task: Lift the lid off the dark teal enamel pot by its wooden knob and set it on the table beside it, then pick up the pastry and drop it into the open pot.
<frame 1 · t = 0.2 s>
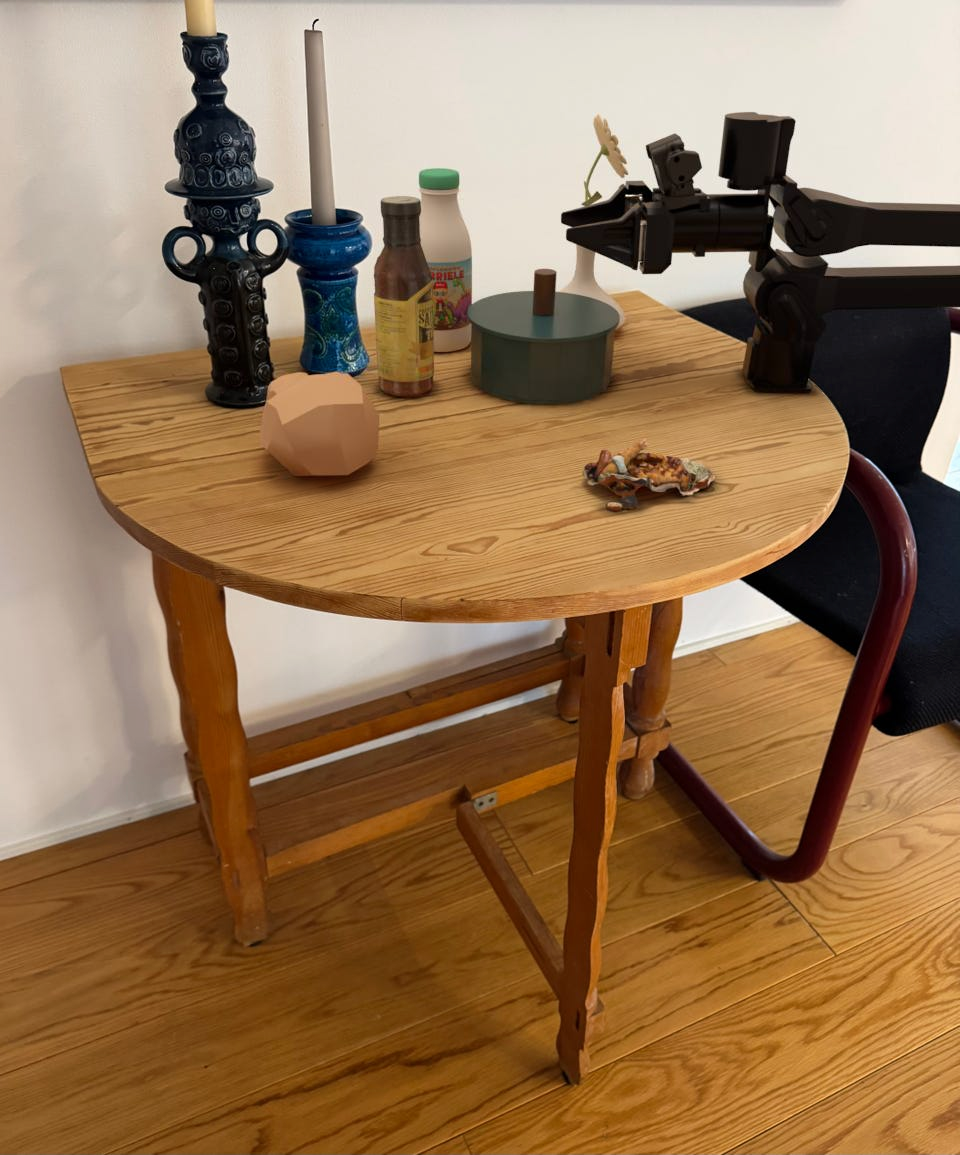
hand: (563, 225, 100), 17 cm above the table, tool horizontal, fingers open, 9 cm apart
pastry: (648, 486, 87), on the table
sauce bottle: (406, 389, 106), on the table
lid: (543, 317, 105), point 7 cm above the table, touching pot
pot: (540, 377, 109), on the table
flower in vase: (580, 329, 124), on the table
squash: (310, 450, 92), on the table
milk bottle: (440, 344, 118), on the table
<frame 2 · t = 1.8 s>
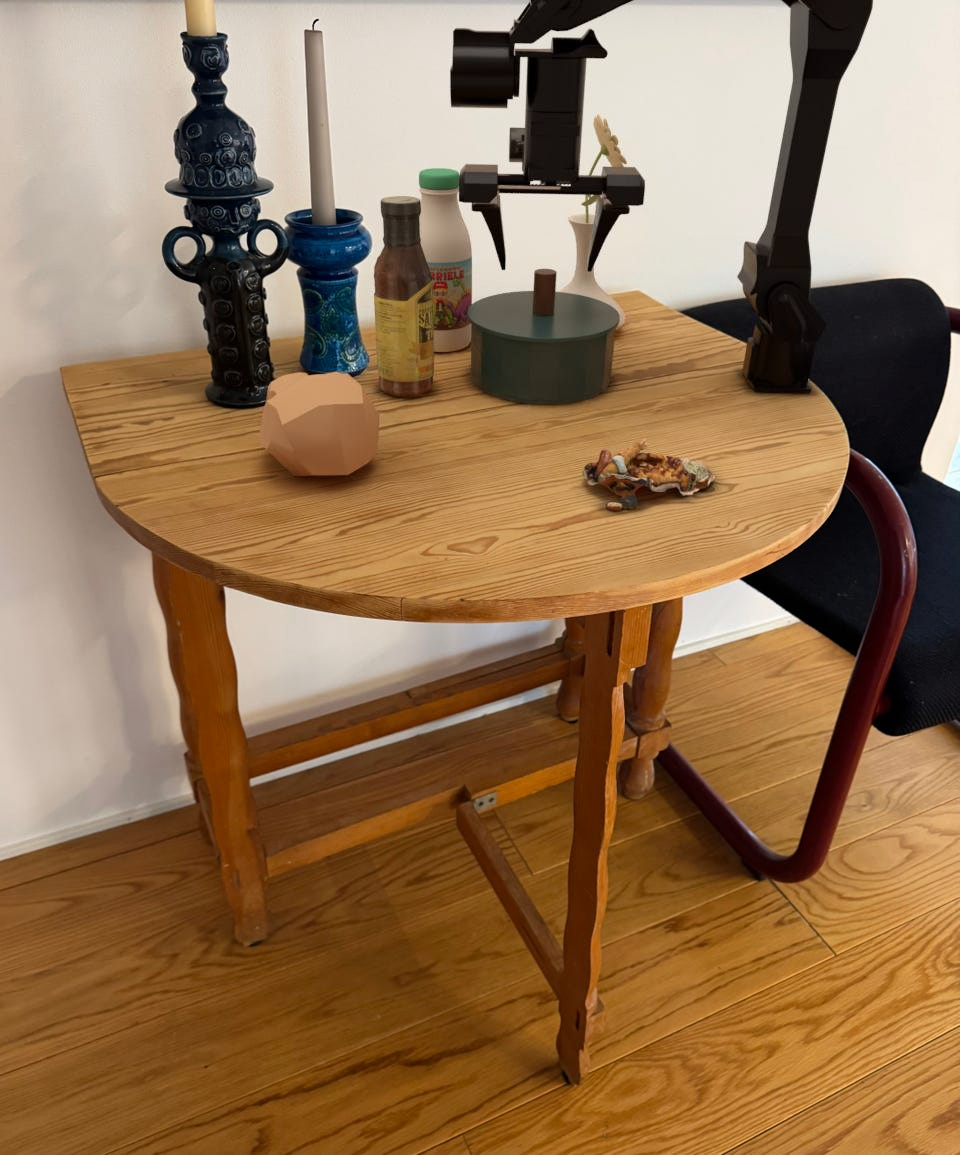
hand: (546, 269, 102), 12 cm above the table, tool pointing down, fingers open, 9 cm apart
nothing on the table moved.
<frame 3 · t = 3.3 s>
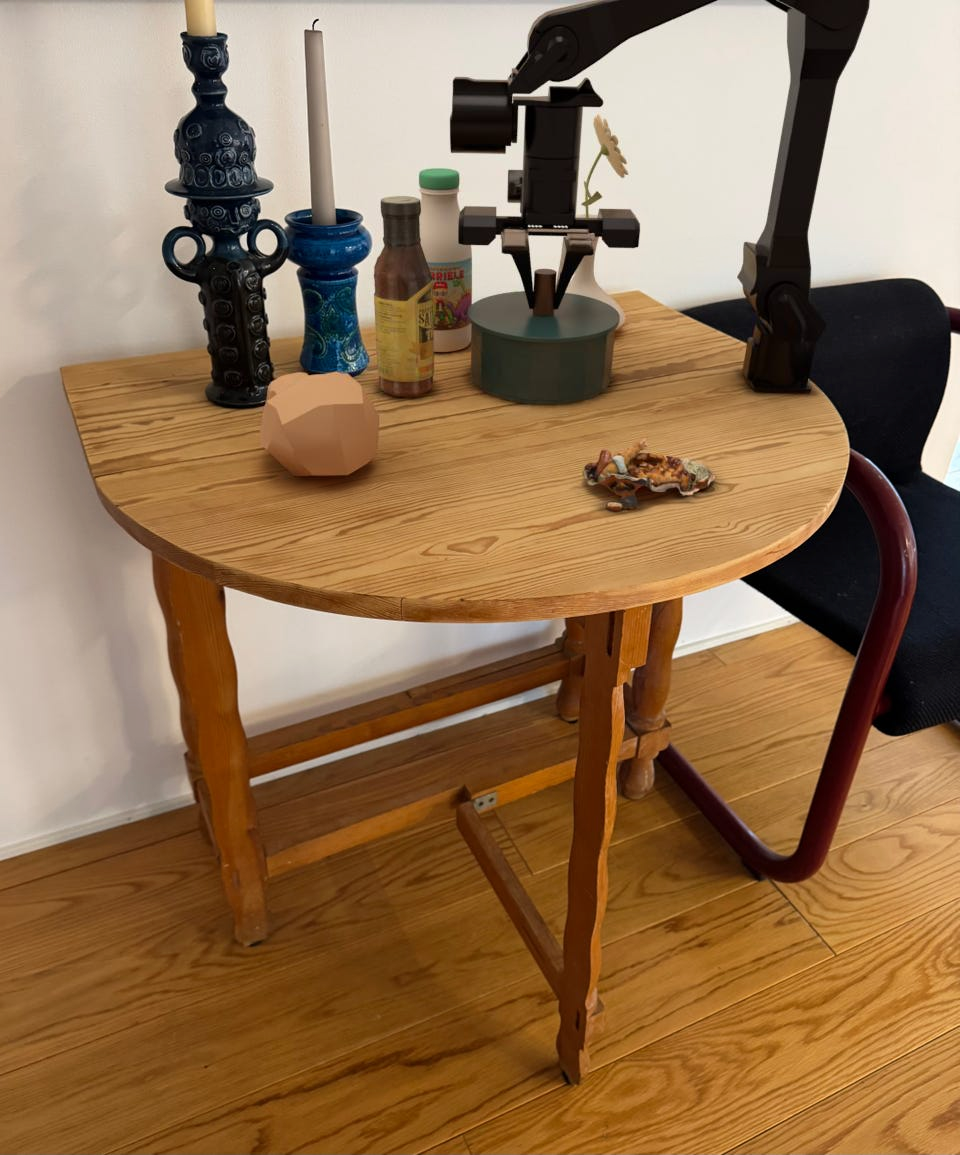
hand: (543, 308, 104), 8 cm above the table, tool pointing down, fingers closed on lid, 2 cm apart
lid: (543, 317, 105), point 7 cm above the table, touching gripper, pot
everything else where it was.
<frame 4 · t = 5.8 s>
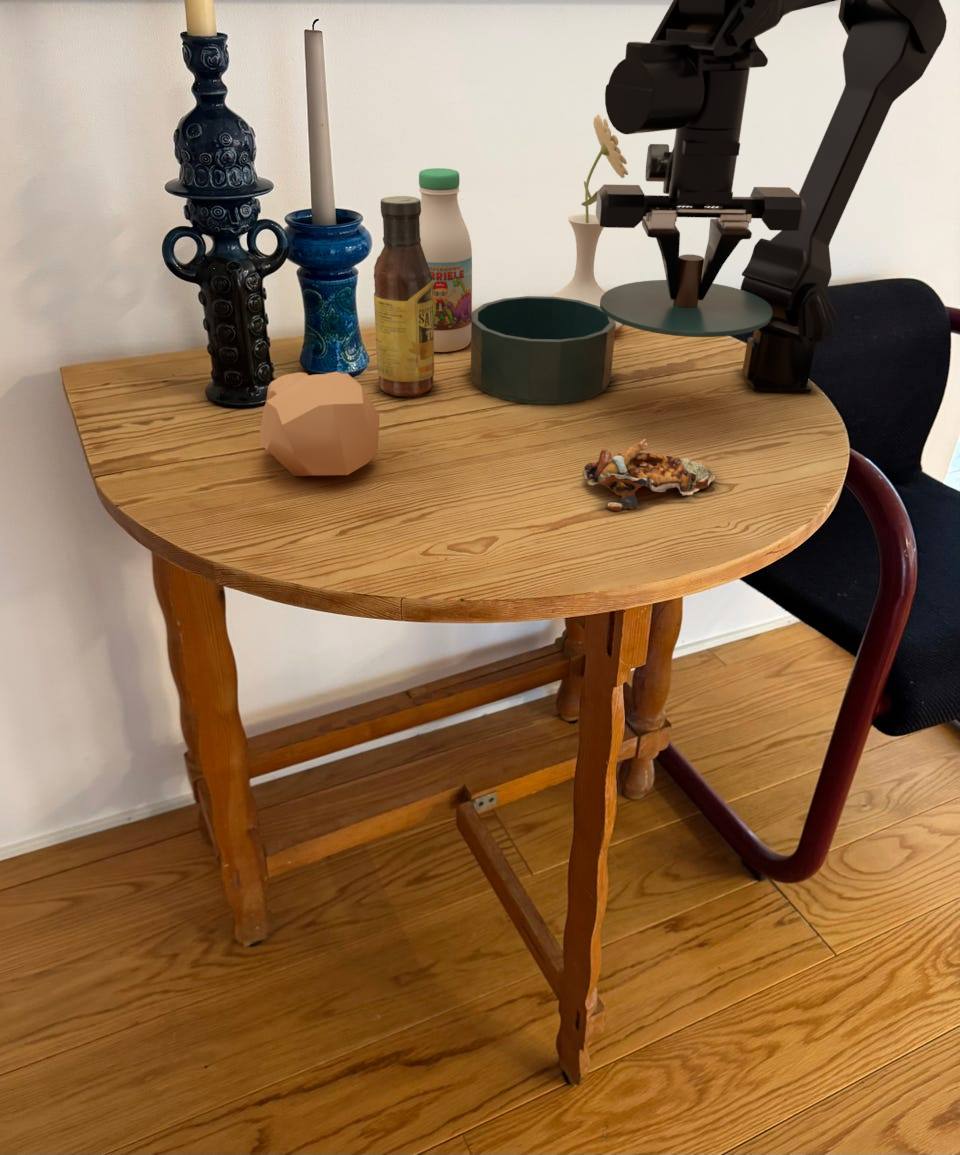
hand: (686, 298, 94), 12 cm above the table, tool pointing down, fingers closed on lid, 2 cm apart
lid: (684, 308, 94), point 11 cm above the table, touching gripper
everything else where it was.
when the fingers open (2 cm above the table, at t = 8.5 s): lid stays where it is, point 1 cm above the table.
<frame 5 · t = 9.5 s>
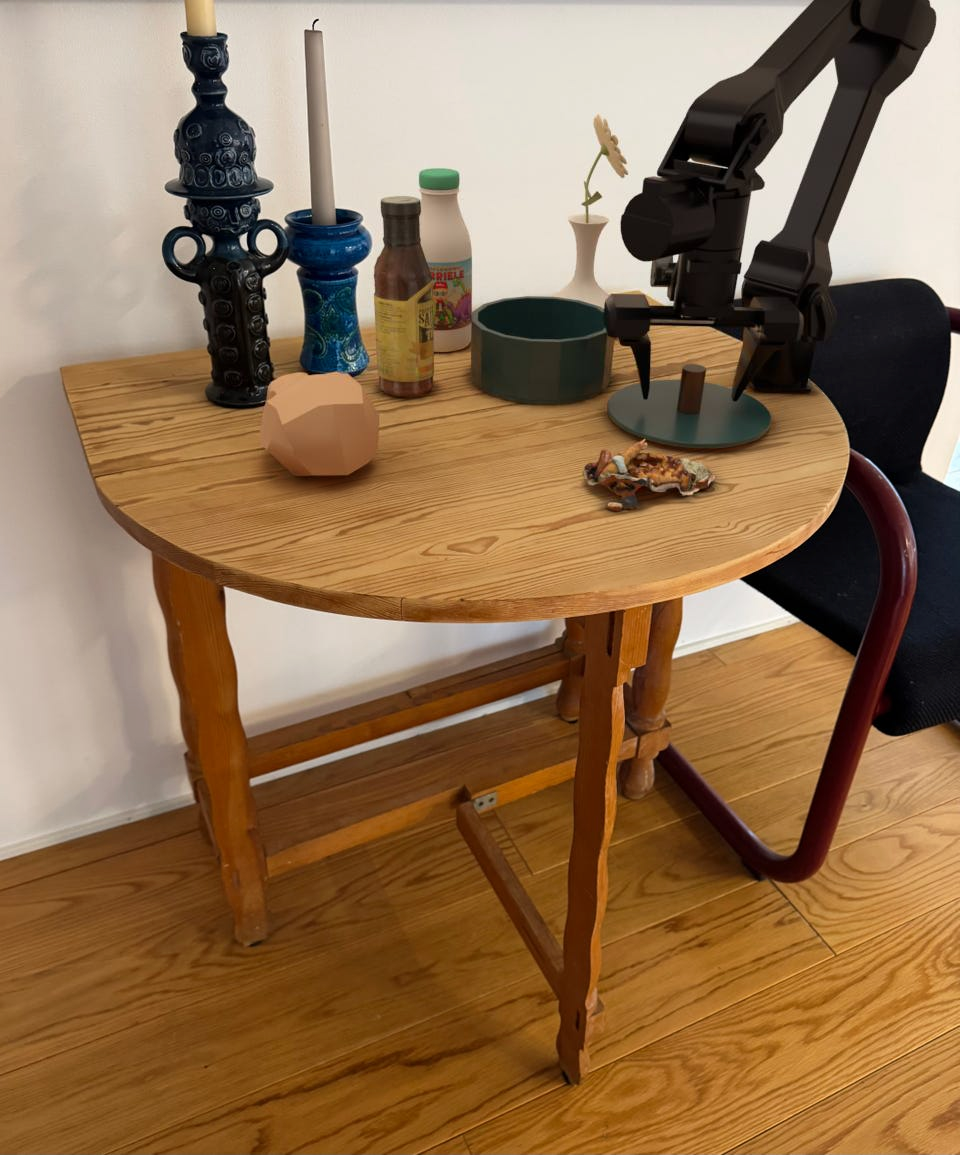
hand: (689, 399, 98), 2 cm above the table, tool pointing down, fingers open, 9 cm apart
lid: (687, 413, 99), point 1 cm above the table
everything else where it was.
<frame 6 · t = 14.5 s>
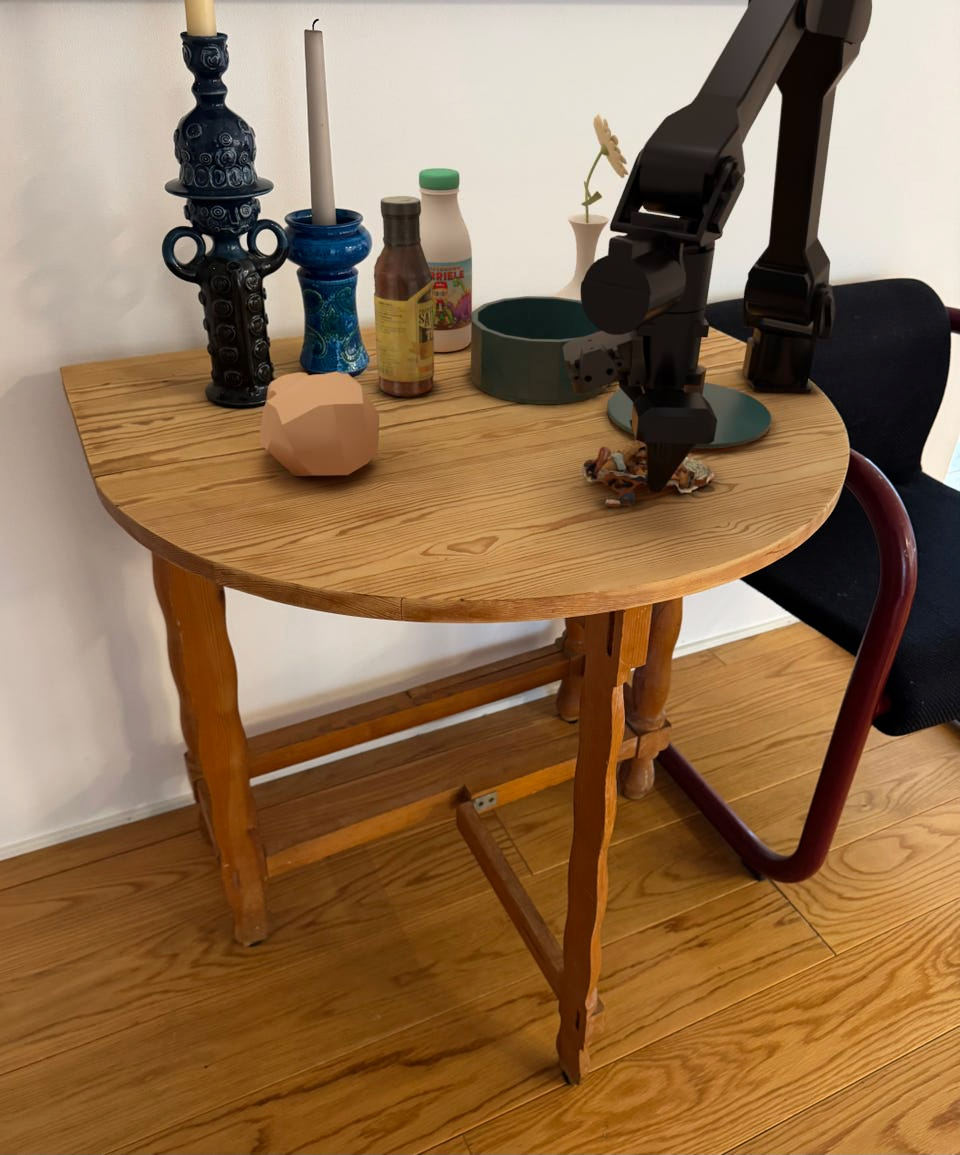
hand: (649, 474, 86), 1 cm above the table, tool pointing down, fingers closed on pastry, 6 cm apart
pastry: (647, 483, 87), on the table, touching gripper
everything else where it was.
when the fingers open (2 cm above the table, at t = 21.6 s): pastry stays where it is, resting on pot.
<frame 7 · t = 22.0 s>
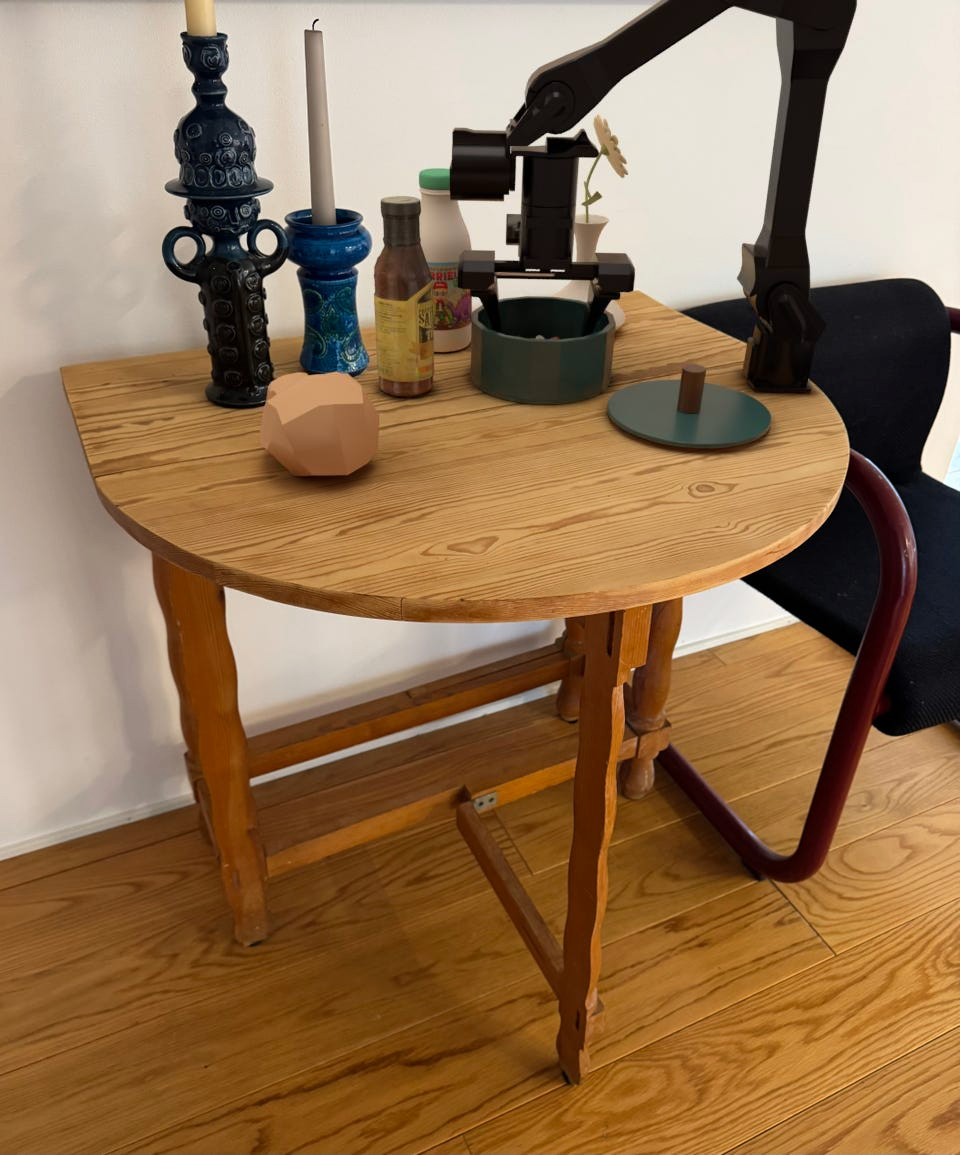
hand: (541, 348, 107), 3 cm above the table, tool pointing down, fingers open, 9 cm apart
pastry: (546, 374, 109), resting on pot
everything else where it was.
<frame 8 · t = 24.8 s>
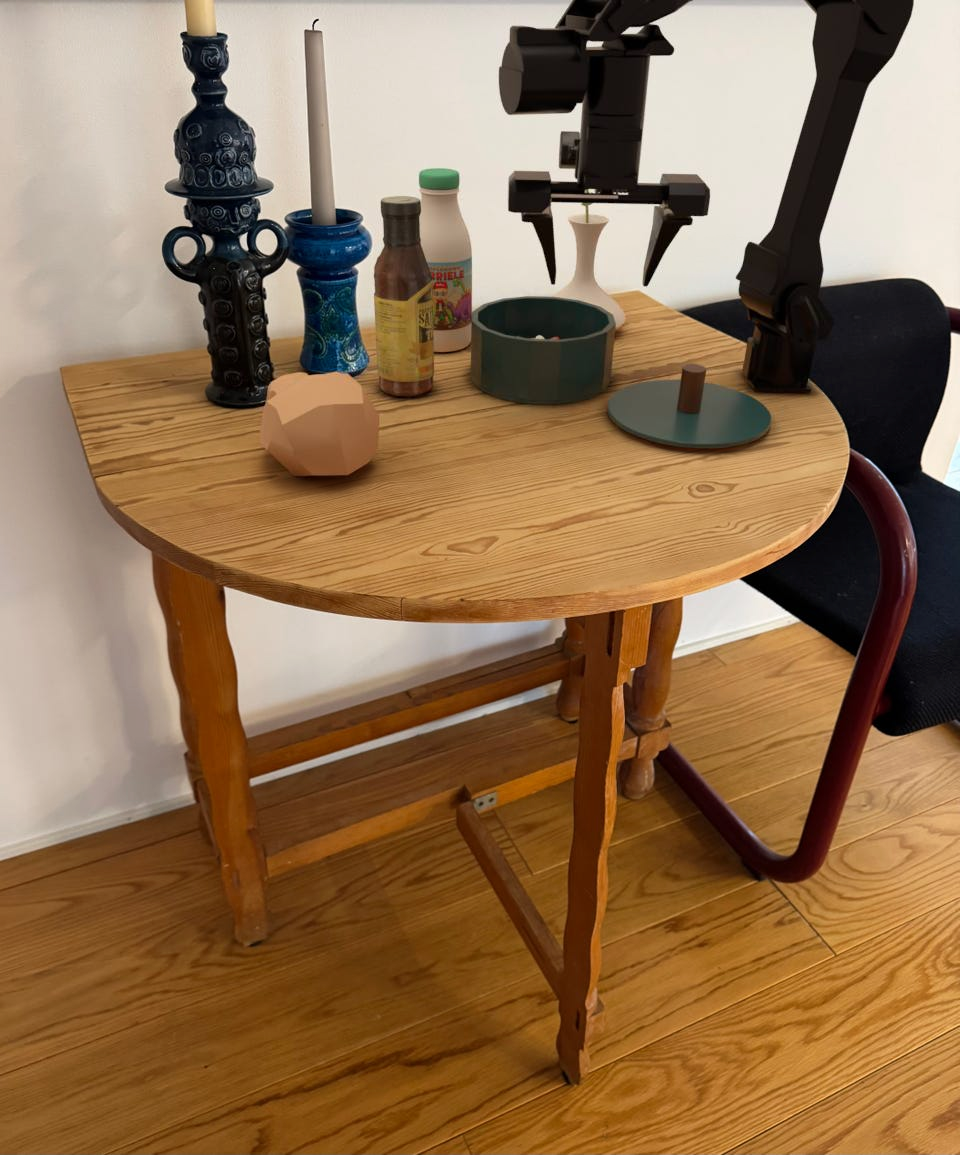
hand: (598, 284, 95), 13 cm above the table, tool pointing down, fingers open, 9 cm apart
nothing on the table moved.
at the end: pastry inside the target area in the pot (0.7 cm from its centre), point 0.3 cm above the pot's base; lid inside the target area (0.0 cm from its centre), point 0.6 cm above the table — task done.
